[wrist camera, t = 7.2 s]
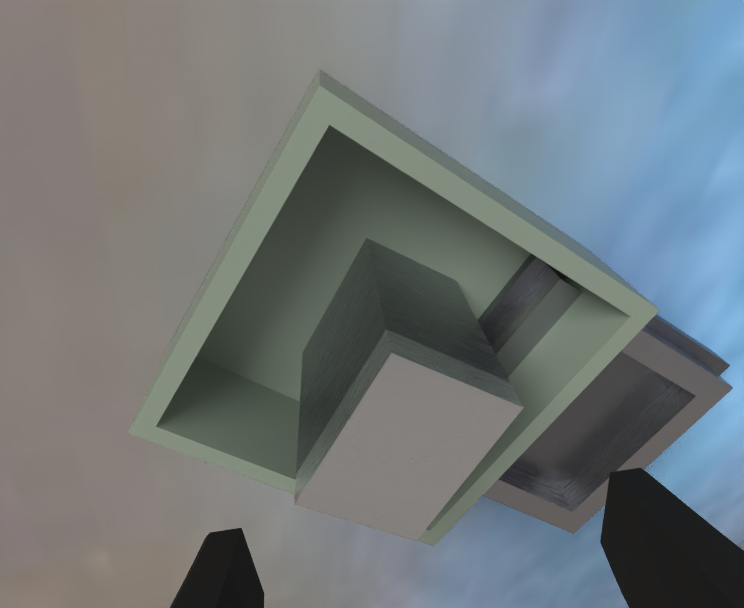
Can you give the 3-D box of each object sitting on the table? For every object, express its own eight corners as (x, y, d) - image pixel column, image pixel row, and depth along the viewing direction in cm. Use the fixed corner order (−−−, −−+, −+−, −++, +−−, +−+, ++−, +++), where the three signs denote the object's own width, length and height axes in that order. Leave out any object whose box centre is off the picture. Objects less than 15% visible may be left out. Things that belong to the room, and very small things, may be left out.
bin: (588, 249, 19) (660, 309, 15) (413, 454, 23) (433, 546, 19) (319, 69, 16) (319, 85, 12) (167, 348, 20) (128, 432, 16)
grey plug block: (456, 280, 19) (523, 407, 12) (387, 385, 20) (416, 540, 14) (366, 237, 18) (391, 353, 11) (302, 352, 19) (294, 504, 13)
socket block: (713, 351, 22) (751, 383, 20) (554, 504, 25) (573, 544, 23) (534, 234, 19) (559, 259, 17) (381, 427, 22) (387, 466, 20)
